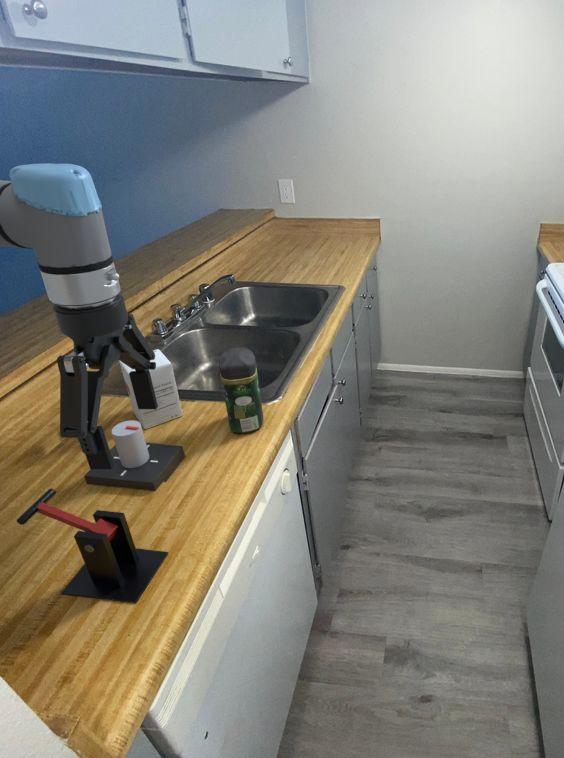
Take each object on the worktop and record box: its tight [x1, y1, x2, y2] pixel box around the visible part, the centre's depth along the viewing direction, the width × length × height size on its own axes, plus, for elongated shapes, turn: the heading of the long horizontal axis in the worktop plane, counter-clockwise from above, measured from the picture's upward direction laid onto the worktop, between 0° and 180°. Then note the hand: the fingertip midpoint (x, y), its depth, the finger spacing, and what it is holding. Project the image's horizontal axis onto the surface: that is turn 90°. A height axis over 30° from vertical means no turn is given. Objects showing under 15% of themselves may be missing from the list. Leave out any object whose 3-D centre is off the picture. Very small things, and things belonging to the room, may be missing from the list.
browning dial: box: [111, 419, 149, 468], centre depth 93 cm, size 5×5×8 cm
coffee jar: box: [218, 347, 264, 434], centre depth 108 cm, size 10×8×19 cm
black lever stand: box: [60, 509, 169, 604], centre depth 73 cm, size 12×9×12 cm
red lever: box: [16, 488, 117, 541], centre depth 70 cm, size 12×6×2 cm, turn 85°
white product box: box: [118, 348, 183, 430], centre depth 110 cm, size 9×9×15 cm
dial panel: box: [84, 442, 186, 492], centre depth 96 cm, size 14×11×3 cm
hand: (127, 435), depth 68 cm, fingers open, 13 cm apart
